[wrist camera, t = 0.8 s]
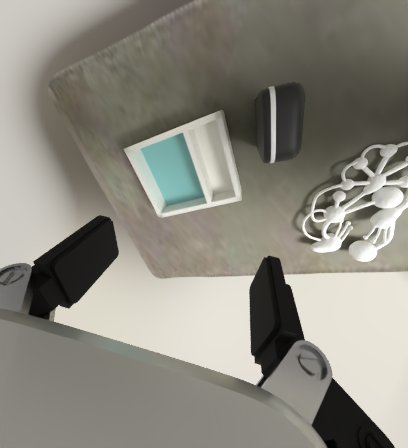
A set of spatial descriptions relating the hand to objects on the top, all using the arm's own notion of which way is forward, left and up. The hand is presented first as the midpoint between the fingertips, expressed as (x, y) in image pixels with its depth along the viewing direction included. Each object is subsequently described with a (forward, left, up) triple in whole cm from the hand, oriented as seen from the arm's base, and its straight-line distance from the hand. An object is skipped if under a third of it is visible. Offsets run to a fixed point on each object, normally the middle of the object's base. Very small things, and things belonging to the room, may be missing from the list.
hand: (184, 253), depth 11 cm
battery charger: (-8, -4, -23) cm, 25 cm away
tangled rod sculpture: (-19, +13, -24) cm, 33 cm away
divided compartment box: (+6, -1, -23) cm, 24 cm away
